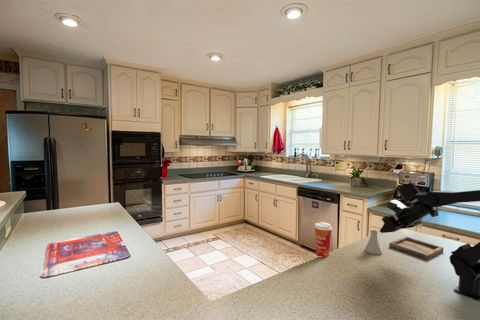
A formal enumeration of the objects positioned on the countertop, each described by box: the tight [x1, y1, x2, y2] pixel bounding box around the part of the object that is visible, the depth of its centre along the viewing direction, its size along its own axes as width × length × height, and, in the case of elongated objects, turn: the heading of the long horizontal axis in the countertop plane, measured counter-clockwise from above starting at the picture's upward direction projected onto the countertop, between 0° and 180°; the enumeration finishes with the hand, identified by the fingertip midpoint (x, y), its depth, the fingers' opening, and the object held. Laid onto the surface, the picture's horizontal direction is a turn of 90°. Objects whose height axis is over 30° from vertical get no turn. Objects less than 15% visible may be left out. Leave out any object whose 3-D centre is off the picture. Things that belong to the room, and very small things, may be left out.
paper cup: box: [313, 221, 333, 258], centre depth 110 cm, size 8×8×14 cm
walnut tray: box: [388, 235, 444, 261], centre depth 117 cm, size 16×16×2 cm
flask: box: [364, 229, 382, 256], centre depth 114 cm, size 7×7×10 cm
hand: (387, 230), depth 108 cm, fingers open, 9 cm apart
